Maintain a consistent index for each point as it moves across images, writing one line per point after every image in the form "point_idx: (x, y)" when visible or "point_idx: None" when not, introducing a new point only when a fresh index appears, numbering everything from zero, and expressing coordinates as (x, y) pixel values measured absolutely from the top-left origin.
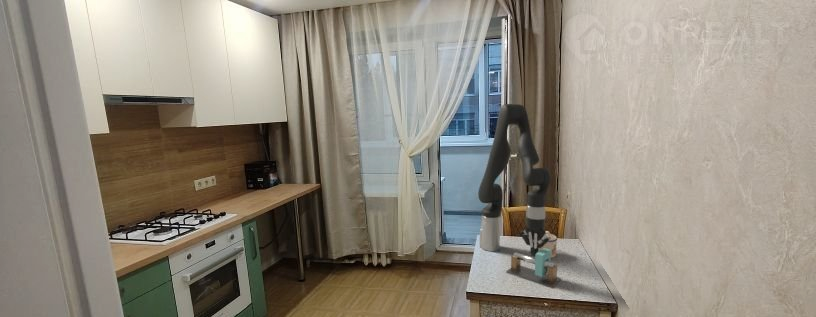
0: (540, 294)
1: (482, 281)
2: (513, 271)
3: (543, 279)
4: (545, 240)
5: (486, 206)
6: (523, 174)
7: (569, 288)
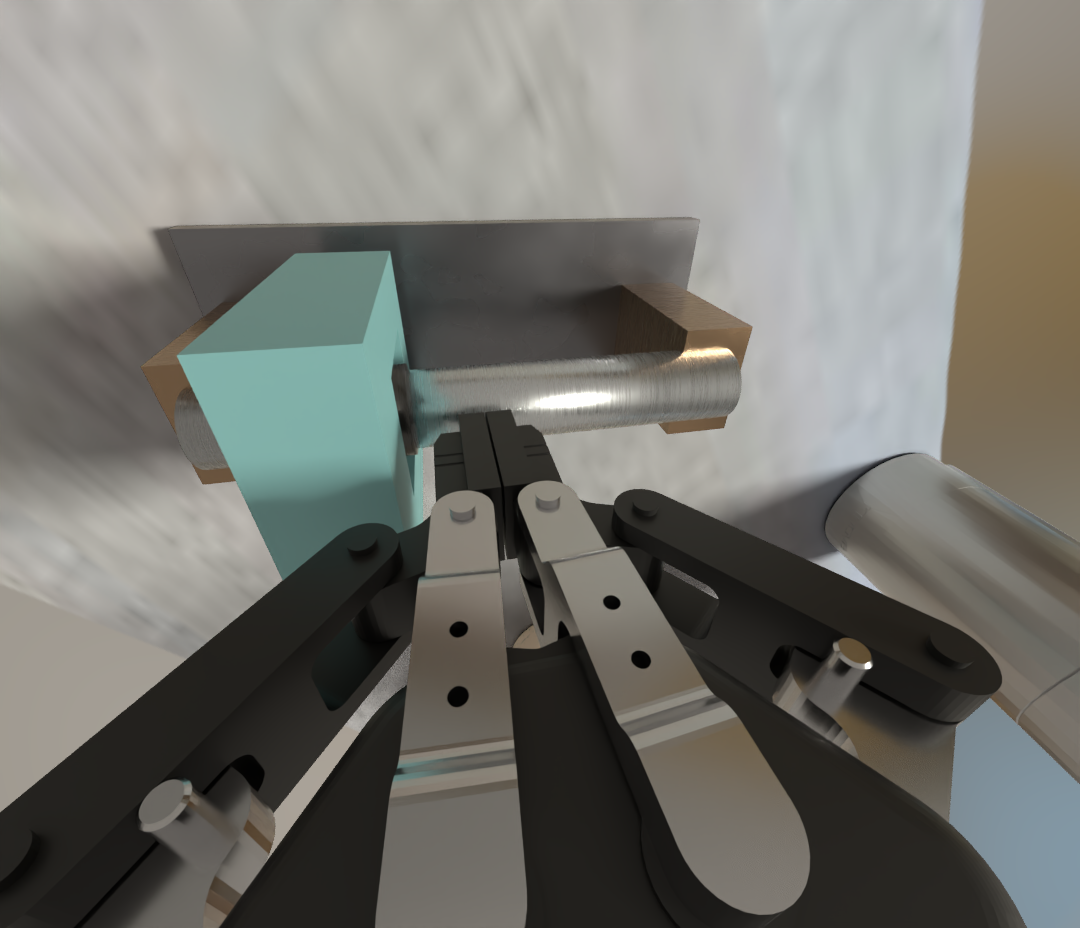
0: None
1: None
2: (638, 260)
3: None
4: (91, 798)
5: None
6: None
7: (79, 351)
